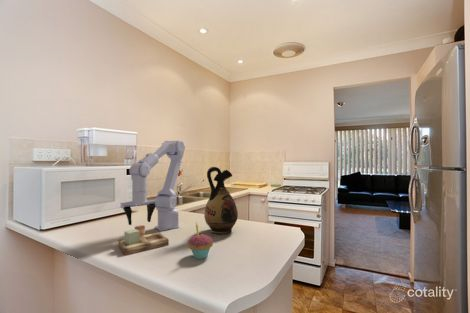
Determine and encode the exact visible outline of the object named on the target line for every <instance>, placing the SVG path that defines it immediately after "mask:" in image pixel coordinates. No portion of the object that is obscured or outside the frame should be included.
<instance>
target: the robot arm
mask: <svg viewBox="0 0 470 313" xmlns="http://www.w3.org/2000/svg"><path fill="white" fill-rule="evenodd" d="M185 149H186V146H185V143H184V142H183V141H182V140H181V139H178V140H165V141H163V142H162V143H161V146H160V147H158V148H157V149H156V150H155V151H154V152H153V153H151V152H150V153H146V154H145V156H144V157H143V158H141V159H139V160H138V162H135V163H133V164H131V165H130V168H129V169H128V173H129V175H130V176H131V178H130V179H131V183H132V188H131V190H132V192H131V193H132V200H131V201H125V202H120V209H122V210H123V211H124V213H125V215H126V219H127V222H128V226H132V223H133V222H132V212H133V209H132V207H133V208H134V207H141V206H142V207H143V206H146V211H147V214H146V215H147V217H146V219H147V220H146V221H147V223H151V222H152V220H151V219H152V216H153V212H154V211H155V209H156V210H157V225H155V226H154V228H155V229H157V230H158V231H159V232H161V231H167V230H172V229H178V228H180V226H179V210H178V209H177V208H176V206H177V204H178V203H177V198H178V195H177V193H176V192H175V187H176V183H177V180H178V177H179V173H180V169H181V165H182V161H183V158H184V154H185ZM165 155H166V156H167V158H168V159H170V162H169V166H168V169H167V174H166V176H165V181H164V183H163V186H162V187H163V188H162V189H161V190H159V191H158V192H157V195H156V196H155V198H154V199H148V197H147V196H148V190H147V188H148V182H147V180H148V176H149V175H150V173H151V170H152V169H153V168H154V167H155V166H156V165H157V164H158V163H159V159H160V158H162V157H163V156H165Z"/></svg>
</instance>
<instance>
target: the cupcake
mask: <svg viewBox="0 0 470 313" xmlns="http://www.w3.org/2000/svg"><path fill="white" fill-rule="evenodd" d="M195 230H196V235H194V236H192V237H190V239H188V242H187V246H188V248H189V249H190V250H191V252H192V255H193V258H195V259H198V260H202V259H206V258H207V257H208V256H209V252H210V249H211V248H212V247H213V246H214V245H213V244H214V242H213V238H212V237H211V236H209V235H207V234H205V233H204V234H200V233H199V224H198V222H195Z"/></svg>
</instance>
